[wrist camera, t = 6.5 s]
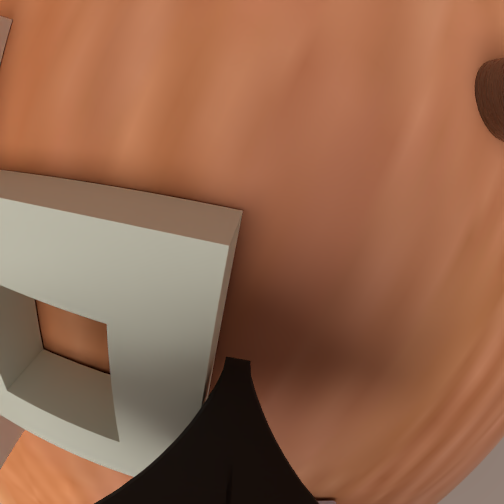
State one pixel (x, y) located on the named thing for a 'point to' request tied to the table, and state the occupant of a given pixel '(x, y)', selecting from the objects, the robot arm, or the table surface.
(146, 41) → the table surface
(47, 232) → the socket block
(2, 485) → the table surface
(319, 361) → the table surface
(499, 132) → the dowel
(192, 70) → the table surface
